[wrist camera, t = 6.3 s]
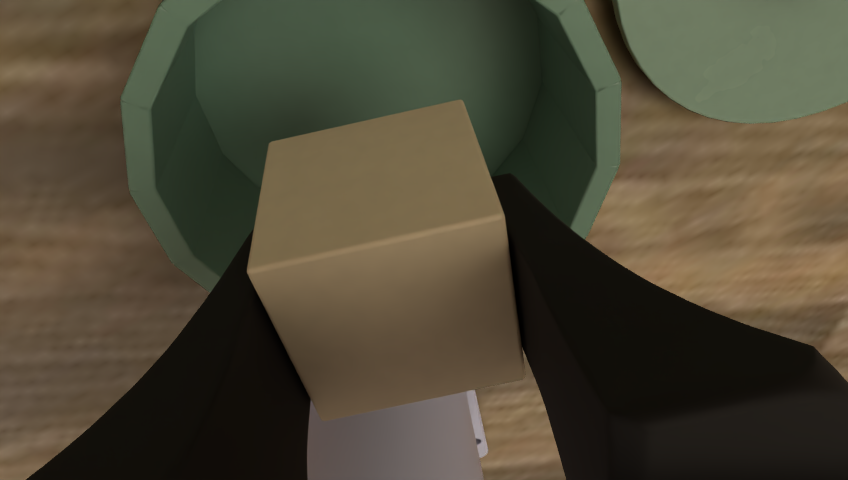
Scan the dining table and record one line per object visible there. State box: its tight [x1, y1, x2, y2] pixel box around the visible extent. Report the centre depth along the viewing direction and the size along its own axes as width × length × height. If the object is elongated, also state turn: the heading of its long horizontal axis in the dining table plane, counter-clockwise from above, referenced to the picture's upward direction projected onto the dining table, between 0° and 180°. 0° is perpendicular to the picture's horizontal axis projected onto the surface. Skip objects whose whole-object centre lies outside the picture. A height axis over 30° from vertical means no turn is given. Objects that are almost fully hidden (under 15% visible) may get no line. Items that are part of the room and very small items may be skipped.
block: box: [247, 100, 526, 421], centre depth 12 cm, size 4×4×4 cm
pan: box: [120, 0, 621, 293], centre depth 16 cm, size 11×11×6 cm
